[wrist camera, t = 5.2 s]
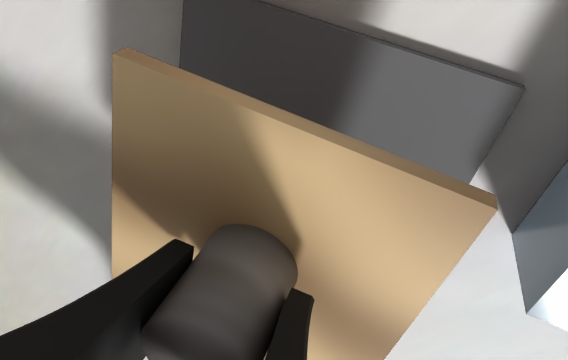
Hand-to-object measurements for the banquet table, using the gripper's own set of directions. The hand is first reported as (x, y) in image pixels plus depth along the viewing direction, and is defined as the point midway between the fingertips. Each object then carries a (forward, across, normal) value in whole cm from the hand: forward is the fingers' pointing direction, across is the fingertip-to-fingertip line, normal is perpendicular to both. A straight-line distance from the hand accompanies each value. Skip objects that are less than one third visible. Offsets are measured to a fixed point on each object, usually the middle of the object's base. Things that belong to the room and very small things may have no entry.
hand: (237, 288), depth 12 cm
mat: (+7, 0, 0) cm, 7 cm away
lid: (+2, 0, 0) cm, 2 cm away
